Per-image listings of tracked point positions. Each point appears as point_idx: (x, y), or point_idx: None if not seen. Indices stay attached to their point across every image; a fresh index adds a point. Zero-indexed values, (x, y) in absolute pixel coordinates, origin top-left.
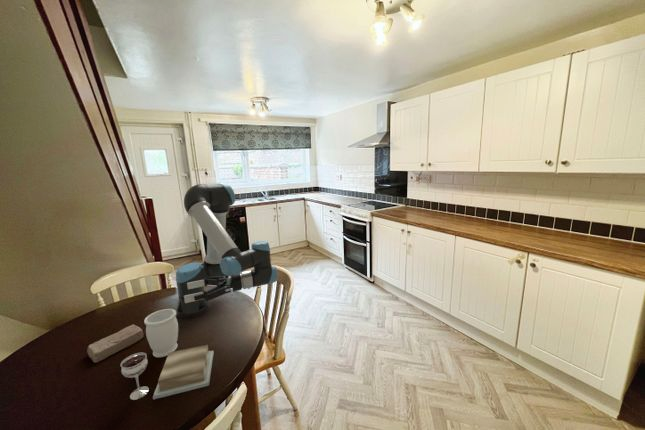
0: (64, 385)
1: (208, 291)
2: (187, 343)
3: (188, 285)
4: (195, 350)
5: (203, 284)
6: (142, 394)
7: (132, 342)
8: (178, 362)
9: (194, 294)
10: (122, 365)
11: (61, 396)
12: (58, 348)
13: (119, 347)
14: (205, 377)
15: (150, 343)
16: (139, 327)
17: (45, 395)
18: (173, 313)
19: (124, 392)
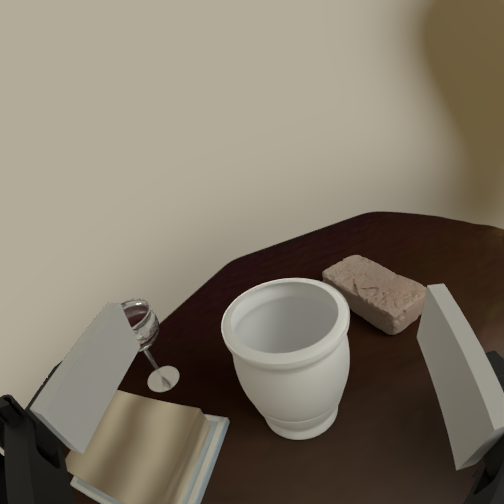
0: (275, 277)
1: (10, 451)
2: (305, 469)
3: (425, 313)
4: (150, 475)
5: (463, 450)
6: (151, 382)
7: (372, 321)
8: (133, 428)
9: (69, 356)
10: (136, 304)
11: (247, 283)
12: (389, 234)
13: (351, 304)
14: (88, 485)
15: (263, 351)
16: (409, 306)
17: (264, 268)
18: (276, 354)
19: (186, 356)
